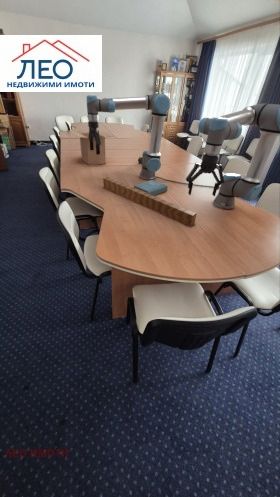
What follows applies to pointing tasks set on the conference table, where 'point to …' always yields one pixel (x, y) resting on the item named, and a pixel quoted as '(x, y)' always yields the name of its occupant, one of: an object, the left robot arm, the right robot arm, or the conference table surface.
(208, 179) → the conference table surface
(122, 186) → the bar
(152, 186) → the book
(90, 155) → the box
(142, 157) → the laser sight
